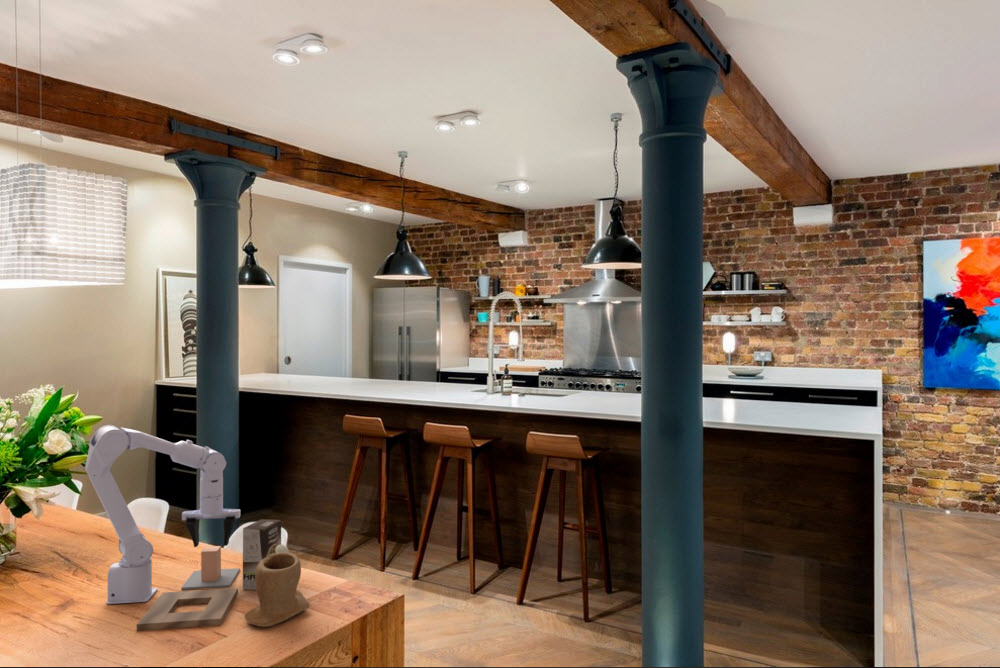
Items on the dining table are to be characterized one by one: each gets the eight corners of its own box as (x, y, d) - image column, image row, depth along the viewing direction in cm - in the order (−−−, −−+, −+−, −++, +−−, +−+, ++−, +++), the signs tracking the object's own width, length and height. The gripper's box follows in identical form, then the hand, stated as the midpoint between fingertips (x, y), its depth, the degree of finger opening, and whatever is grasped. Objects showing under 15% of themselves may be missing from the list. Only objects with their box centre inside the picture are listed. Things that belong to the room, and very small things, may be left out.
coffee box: (264, 591, 173) (264, 529, 173) (241, 589, 174) (241, 527, 174) (282, 578, 182) (282, 519, 182) (260, 576, 183) (260, 518, 183)
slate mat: (181, 589, 174) (181, 587, 174) (194, 572, 186) (194, 570, 186) (230, 587, 176) (230, 584, 176) (239, 570, 188) (239, 568, 188)
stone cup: (269, 636, 148) (269, 569, 148) (237, 622, 155) (237, 558, 155) (323, 612, 161) (323, 550, 160) (291, 600, 167) (291, 541, 167)
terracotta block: (201, 581, 178) (201, 551, 178) (205, 576, 182) (205, 546, 182) (217, 580, 179) (217, 550, 178) (220, 575, 182) (220, 546, 182)
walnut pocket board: (136, 630, 151) (136, 624, 151) (162, 598, 168) (162, 592, 168) (220, 625, 154) (220, 618, 154) (237, 593, 171) (237, 588, 171)
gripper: (178, 499, 175) (178, 551, 175) (236, 497, 178) (236, 548, 178) (186, 493, 182) (186, 542, 182) (242, 491, 185) (242, 540, 185)
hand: (211, 545), depth 181 cm, fingers open, 7 cm apart
